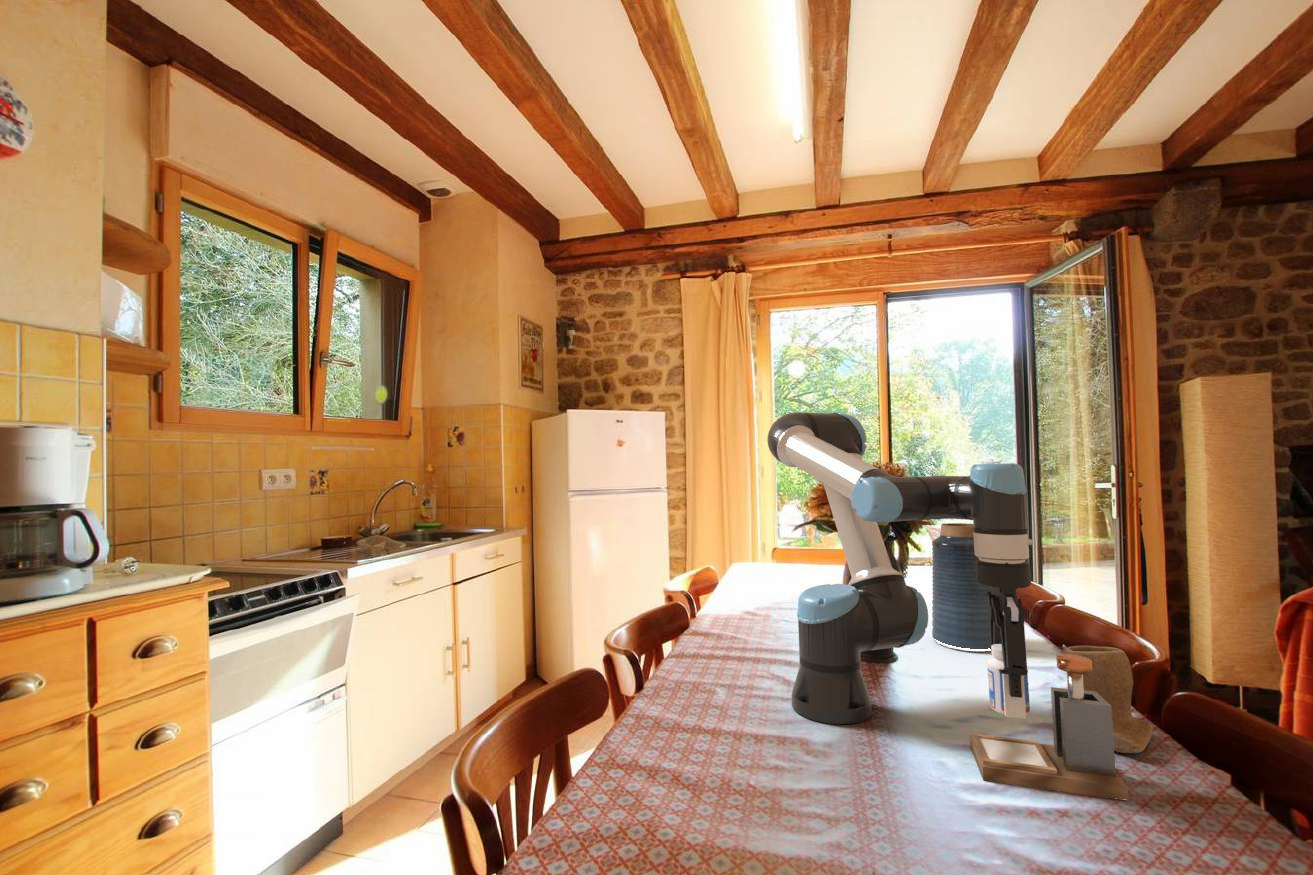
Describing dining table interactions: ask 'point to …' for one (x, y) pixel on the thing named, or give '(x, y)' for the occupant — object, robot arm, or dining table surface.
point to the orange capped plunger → (1074, 673)
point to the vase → (958, 590)
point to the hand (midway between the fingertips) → (1010, 708)
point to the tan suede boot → (1115, 694)
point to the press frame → (1083, 732)
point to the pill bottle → (1000, 681)
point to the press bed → (1037, 768)
